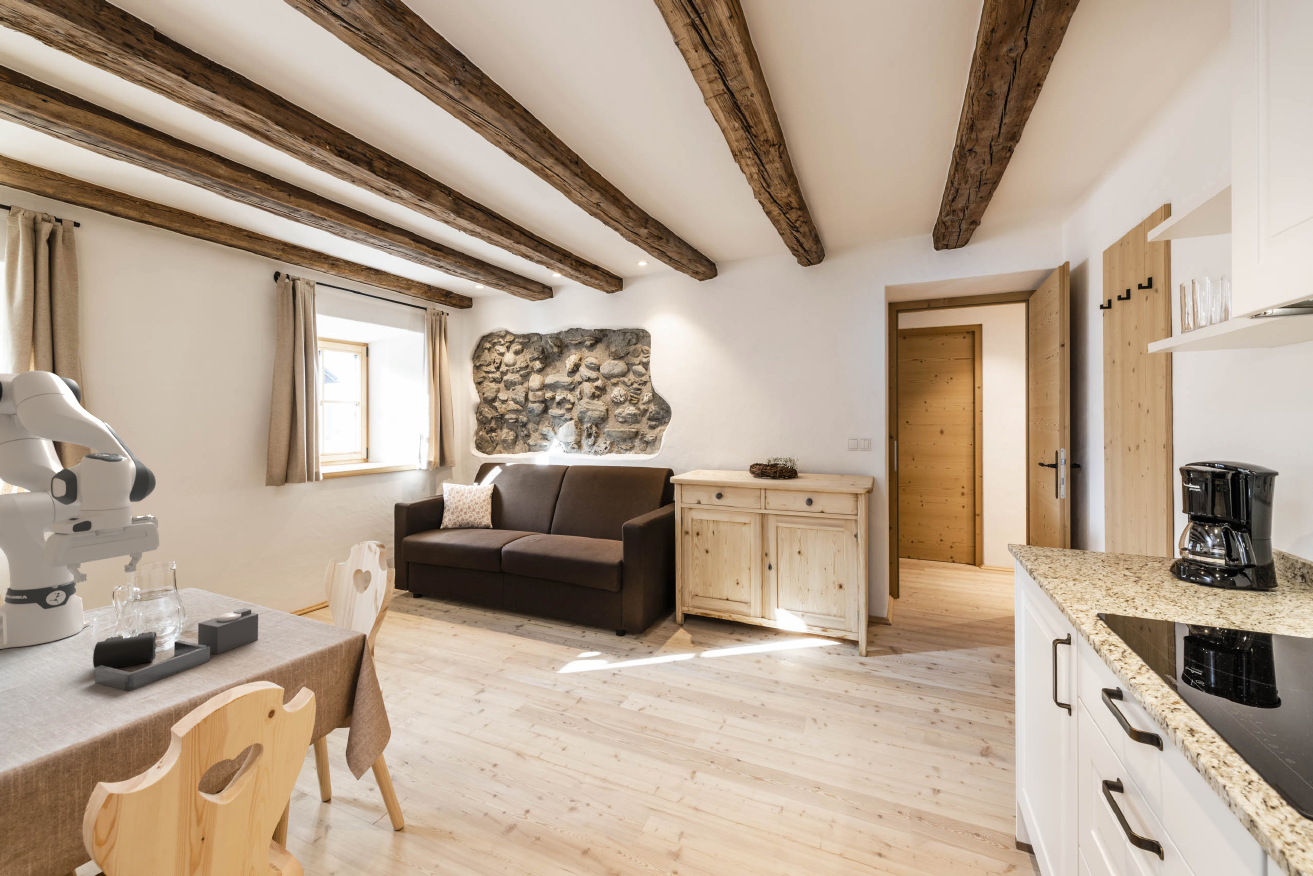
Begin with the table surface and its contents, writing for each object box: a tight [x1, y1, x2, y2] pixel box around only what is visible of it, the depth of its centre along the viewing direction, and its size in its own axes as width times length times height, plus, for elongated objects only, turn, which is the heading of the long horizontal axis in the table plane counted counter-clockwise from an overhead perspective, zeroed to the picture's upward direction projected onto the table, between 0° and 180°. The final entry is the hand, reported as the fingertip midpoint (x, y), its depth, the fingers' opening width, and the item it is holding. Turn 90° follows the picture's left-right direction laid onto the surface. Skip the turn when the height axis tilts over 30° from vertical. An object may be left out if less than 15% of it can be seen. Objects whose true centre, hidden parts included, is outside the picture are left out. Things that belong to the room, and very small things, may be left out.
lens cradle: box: [94, 639, 211, 692], centre depth 122 cm, size 11×16×4 cm
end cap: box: [92, 631, 158, 669], centre depth 125 cm, size 10×7×7 cm
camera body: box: [197, 607, 259, 655], centre depth 138 cm, size 7×10×8 cm
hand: (106, 576), depth 127 cm, fingers open, 8 cm apart
